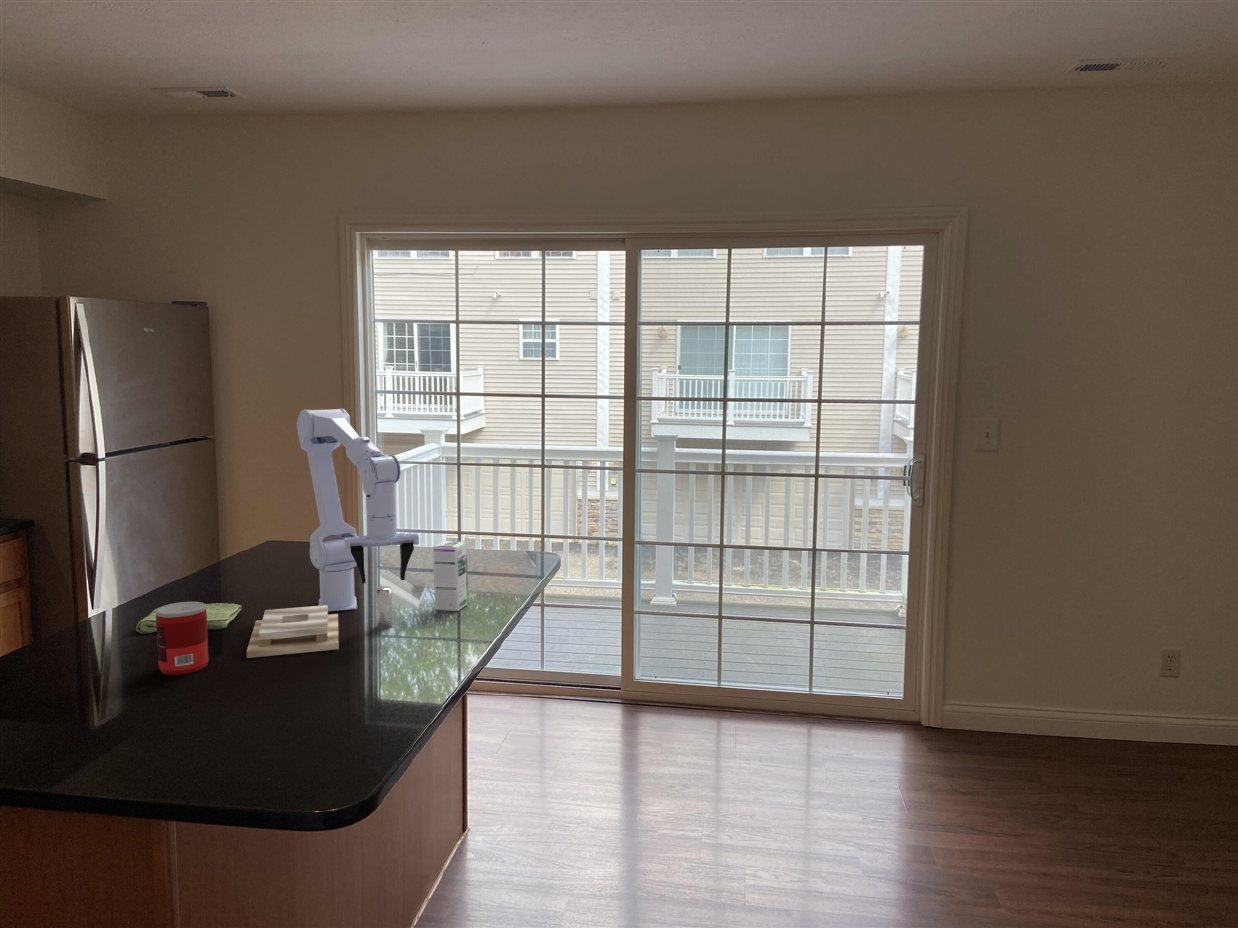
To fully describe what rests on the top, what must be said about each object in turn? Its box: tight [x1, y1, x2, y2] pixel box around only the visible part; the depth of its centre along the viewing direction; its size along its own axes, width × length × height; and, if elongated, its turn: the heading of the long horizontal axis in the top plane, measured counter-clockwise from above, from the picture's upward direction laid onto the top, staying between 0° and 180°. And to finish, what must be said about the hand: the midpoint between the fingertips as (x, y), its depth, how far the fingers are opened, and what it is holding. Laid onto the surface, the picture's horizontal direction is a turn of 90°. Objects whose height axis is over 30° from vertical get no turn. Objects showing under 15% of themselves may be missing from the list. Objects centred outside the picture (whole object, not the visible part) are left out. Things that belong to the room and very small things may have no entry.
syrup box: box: [432, 540, 469, 612], centre depth 187 cm, size 6×6×14 cm
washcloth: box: [135, 602, 243, 634], centre depth 175 cm, size 13×18×3 cm
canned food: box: [156, 601, 210, 676], centre depth 149 cm, size 8×8×11 cm
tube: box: [374, 586, 393, 630], centre depth 173 cm, size 3×3×8 cm
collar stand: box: [246, 605, 340, 659], centre depth 166 cm, size 20×16×4 cm
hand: (383, 580), depth 172 cm, fingers open, 7 cm apart
